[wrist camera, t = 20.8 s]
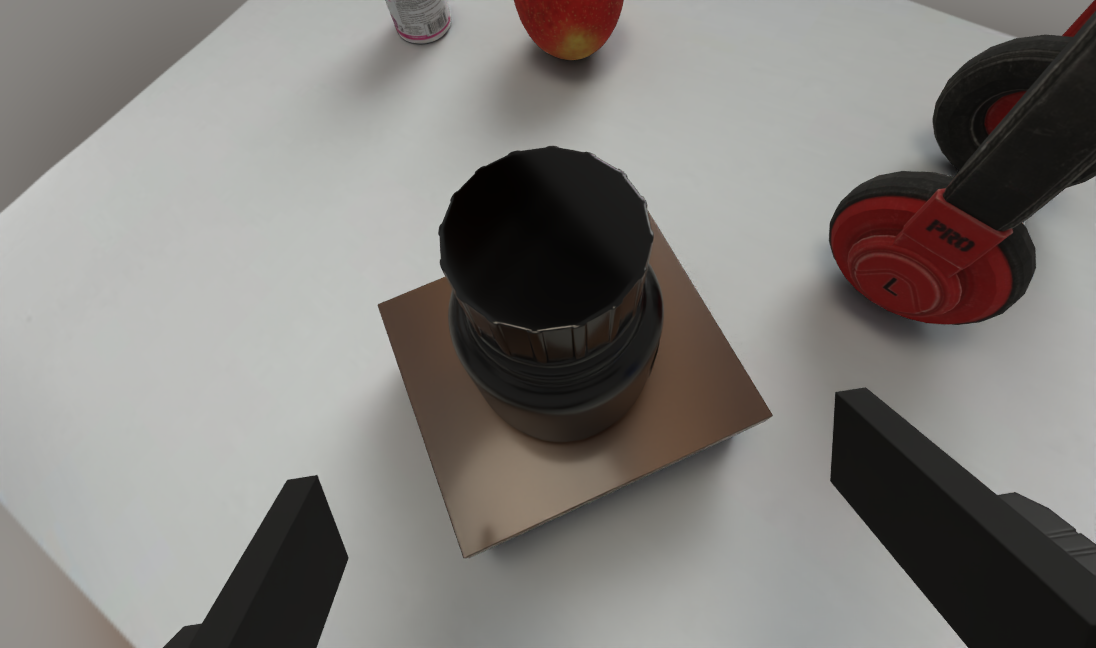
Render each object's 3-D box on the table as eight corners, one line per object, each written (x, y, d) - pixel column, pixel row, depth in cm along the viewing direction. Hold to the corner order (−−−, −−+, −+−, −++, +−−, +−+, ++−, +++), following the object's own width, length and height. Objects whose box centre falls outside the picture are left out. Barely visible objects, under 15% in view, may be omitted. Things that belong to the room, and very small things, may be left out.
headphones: (928, 372, 33) (1360, 143, 14) (784, 273, 36) (989, -20, 18) (1066, 186, 37) (1541, -178, 19) (927, 111, 40) (1216, -266, 22)
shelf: (486, 558, 31) (463, 558, 25) (409, 342, 36) (377, 304, 30) (741, 439, 32) (773, 415, 27) (632, 249, 37) (639, 196, 32)
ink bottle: (691, 357, 28) (758, 230, 17) (572, 489, 26) (559, 442, 15) (553, 246, 31) (532, 76, 20) (436, 355, 29) (341, 234, 18)
